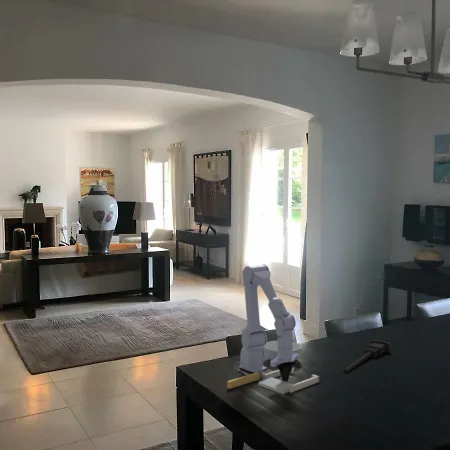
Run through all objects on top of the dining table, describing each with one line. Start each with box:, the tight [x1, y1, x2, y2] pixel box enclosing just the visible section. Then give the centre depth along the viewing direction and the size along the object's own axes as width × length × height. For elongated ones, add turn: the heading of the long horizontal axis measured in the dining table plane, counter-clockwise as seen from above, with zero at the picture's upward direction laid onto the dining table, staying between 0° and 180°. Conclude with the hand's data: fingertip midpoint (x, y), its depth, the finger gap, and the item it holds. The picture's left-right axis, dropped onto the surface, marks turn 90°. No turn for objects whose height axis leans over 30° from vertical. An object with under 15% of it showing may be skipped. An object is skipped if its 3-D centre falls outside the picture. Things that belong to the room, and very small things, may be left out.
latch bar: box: [227, 370, 263, 390], centre depth 198 cm, size 17×2×3 cm, turn 129°
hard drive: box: [257, 377, 294, 395], centre depth 195 cm, size 2×8×12 cm
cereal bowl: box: [263, 339, 302, 361], centre depth 225 cm, size 17×17×7 cm
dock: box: [256, 367, 320, 393], centre depth 201 cm, size 19×17×2 cm
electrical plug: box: [343, 339, 390, 374], centre depth 226 cm, size 9×42×5 cm, turn 141°
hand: (285, 380), depth 199 cm, fingers closed
